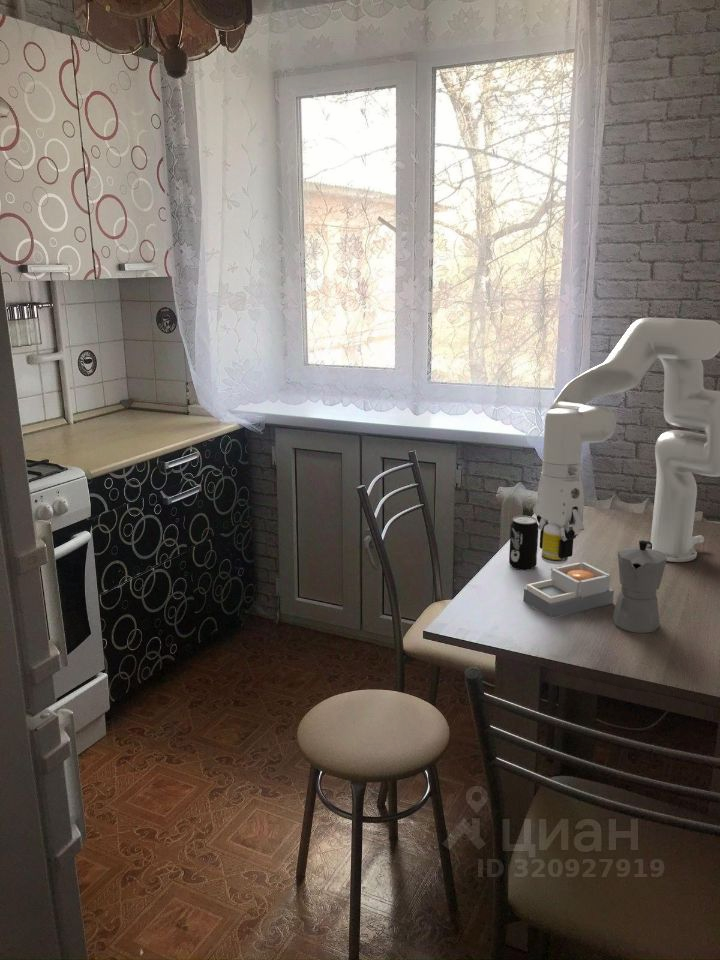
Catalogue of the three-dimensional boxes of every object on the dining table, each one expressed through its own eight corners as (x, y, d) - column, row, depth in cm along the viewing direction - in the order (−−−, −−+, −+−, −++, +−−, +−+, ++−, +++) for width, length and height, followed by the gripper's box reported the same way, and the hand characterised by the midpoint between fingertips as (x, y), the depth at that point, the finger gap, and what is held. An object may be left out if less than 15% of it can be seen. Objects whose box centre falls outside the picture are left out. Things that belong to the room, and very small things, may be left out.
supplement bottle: (564, 566, 162) (567, 521, 159) (538, 562, 164) (541, 518, 162) (570, 558, 166) (573, 514, 164) (545, 554, 169) (547, 511, 166)
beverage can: (536, 571, 187) (539, 524, 183) (508, 570, 188) (510, 522, 185) (536, 561, 193) (538, 515, 190) (509, 560, 194) (511, 514, 191)
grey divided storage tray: (582, 587, 178) (584, 560, 176) (612, 603, 169) (615, 575, 167) (523, 600, 171) (524, 573, 169) (551, 618, 162) (553, 589, 161)
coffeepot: (654, 641, 152) (663, 555, 147) (605, 631, 156) (612, 547, 151) (666, 611, 165) (674, 531, 160) (620, 602, 169) (627, 524, 164)
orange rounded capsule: (580, 589, 175) (581, 568, 173) (597, 599, 170) (599, 577, 168) (560, 594, 172) (561, 572, 171) (577, 604, 167) (579, 581, 166)
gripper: (604, 477, 154) (597, 562, 159) (548, 458, 169) (544, 537, 174) (574, 481, 151) (568, 568, 156) (520, 462, 166) (516, 542, 171)
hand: (555, 551), depth 165 cm, fingers closed on supplement bottle, 5 cm apart
